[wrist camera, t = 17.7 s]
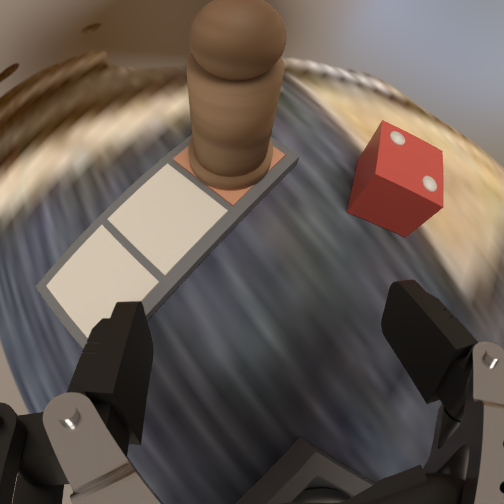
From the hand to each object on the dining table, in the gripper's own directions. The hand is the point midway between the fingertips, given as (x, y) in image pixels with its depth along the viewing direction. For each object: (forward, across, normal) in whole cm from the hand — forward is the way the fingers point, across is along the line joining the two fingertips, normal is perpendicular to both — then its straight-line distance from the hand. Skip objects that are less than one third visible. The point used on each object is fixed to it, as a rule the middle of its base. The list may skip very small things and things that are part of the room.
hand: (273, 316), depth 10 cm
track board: (+12, +5, +1) cm, 13 cm away
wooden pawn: (+14, 0, -3) cm, 14 cm away
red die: (+13, -11, 0) cm, 17 cm away
